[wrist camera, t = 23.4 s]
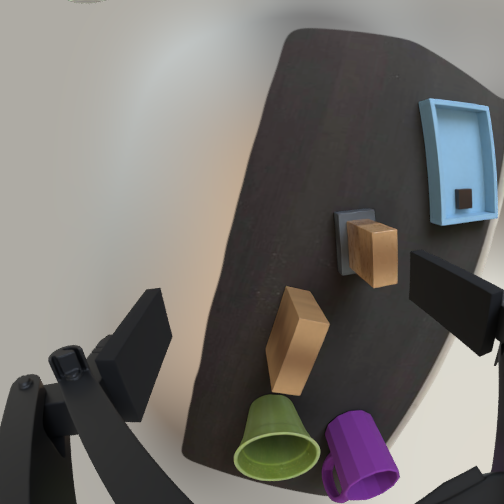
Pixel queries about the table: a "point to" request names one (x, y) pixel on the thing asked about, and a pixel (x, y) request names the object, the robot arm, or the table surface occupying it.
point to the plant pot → (275, 441)
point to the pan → (459, 160)
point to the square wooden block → (295, 341)
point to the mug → (357, 458)
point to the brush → (366, 247)
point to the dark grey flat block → (463, 198)
